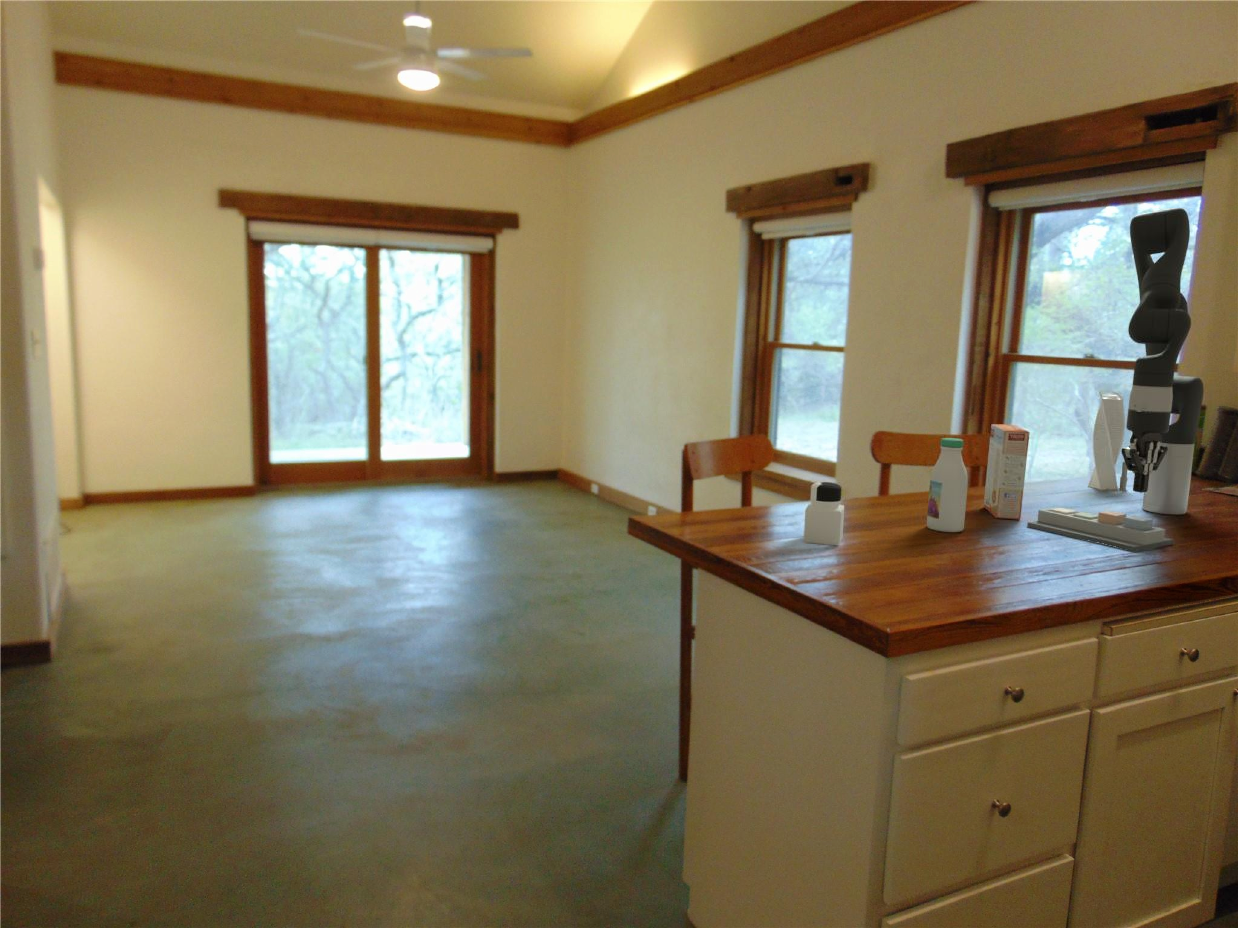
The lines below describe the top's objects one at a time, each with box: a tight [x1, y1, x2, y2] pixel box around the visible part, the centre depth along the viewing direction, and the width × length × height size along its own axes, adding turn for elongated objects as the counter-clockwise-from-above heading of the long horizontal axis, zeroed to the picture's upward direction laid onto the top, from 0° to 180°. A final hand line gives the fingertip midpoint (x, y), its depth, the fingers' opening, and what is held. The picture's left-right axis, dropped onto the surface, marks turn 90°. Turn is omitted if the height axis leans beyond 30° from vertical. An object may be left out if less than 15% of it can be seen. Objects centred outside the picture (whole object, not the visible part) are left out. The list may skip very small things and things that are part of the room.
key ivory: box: [1050, 507, 1078, 515], centre depth 197 cm, size 4×4×3 cm
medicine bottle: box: [803, 481, 845, 547], centre depth 180 cm, size 7×7×12 cm
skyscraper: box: [1087, 389, 1129, 492], centre depth 244 cm, size 8×8×28 cm
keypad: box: [1026, 506, 1174, 553], centre depth 190 cm, size 14×24×4 cm, turn 30°
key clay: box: [1097, 510, 1127, 525], centre depth 188 cm, size 4×4×3 cm
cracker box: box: [983, 423, 1030, 521], centre depth 209 cm, size 14×6×21 cm, turn 168°
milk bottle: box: [926, 437, 969, 533], centre depth 192 cm, size 8×8×20 cm
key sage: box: [1074, 512, 1098, 520], centre depth 193 cm, size 4×4×3 cm
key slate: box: [1123, 515, 1154, 531], centre depth 183 cm, size 4×4×3 cm
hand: (1139, 491), depth 182 cm, fingers closed
